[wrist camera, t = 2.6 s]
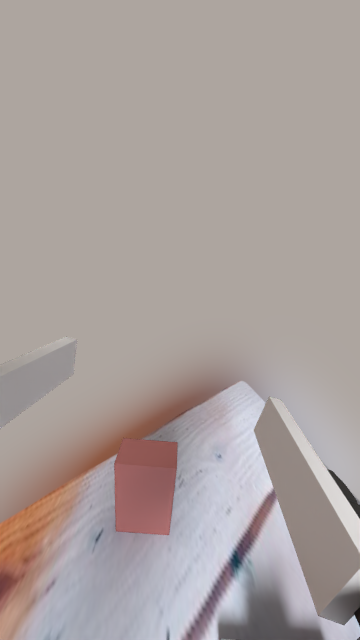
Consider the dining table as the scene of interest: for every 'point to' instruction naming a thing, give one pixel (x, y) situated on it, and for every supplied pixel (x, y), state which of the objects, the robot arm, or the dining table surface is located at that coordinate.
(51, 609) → the dining table surface
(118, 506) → the red rectangular block
